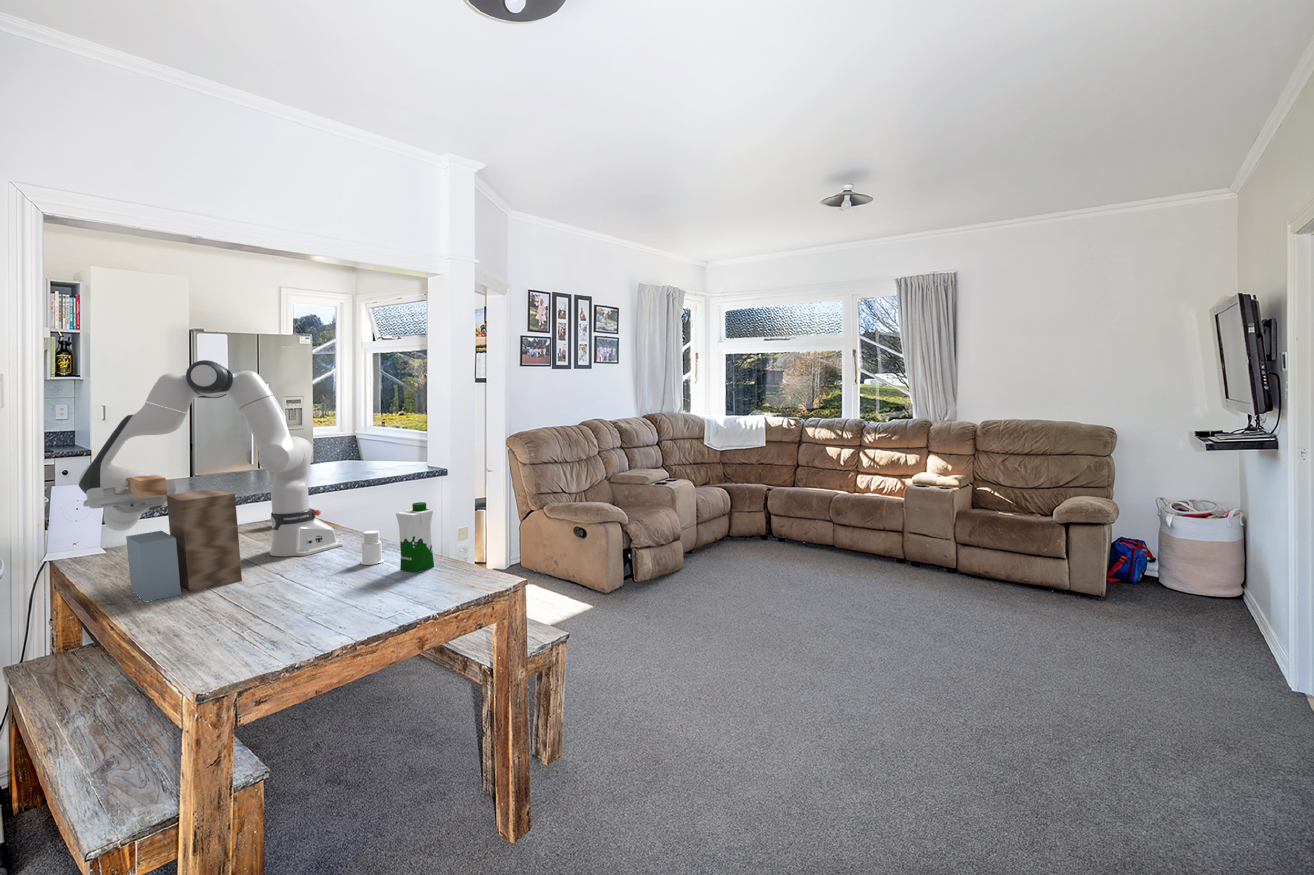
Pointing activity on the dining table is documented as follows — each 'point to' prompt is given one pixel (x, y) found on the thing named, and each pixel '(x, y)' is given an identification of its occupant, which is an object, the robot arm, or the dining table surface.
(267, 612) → the dining table surface
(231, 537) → the tall stand
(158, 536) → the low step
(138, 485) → the brown wooden block
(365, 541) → the white pill bottle
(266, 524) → the dining table surface
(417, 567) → the milk carton
